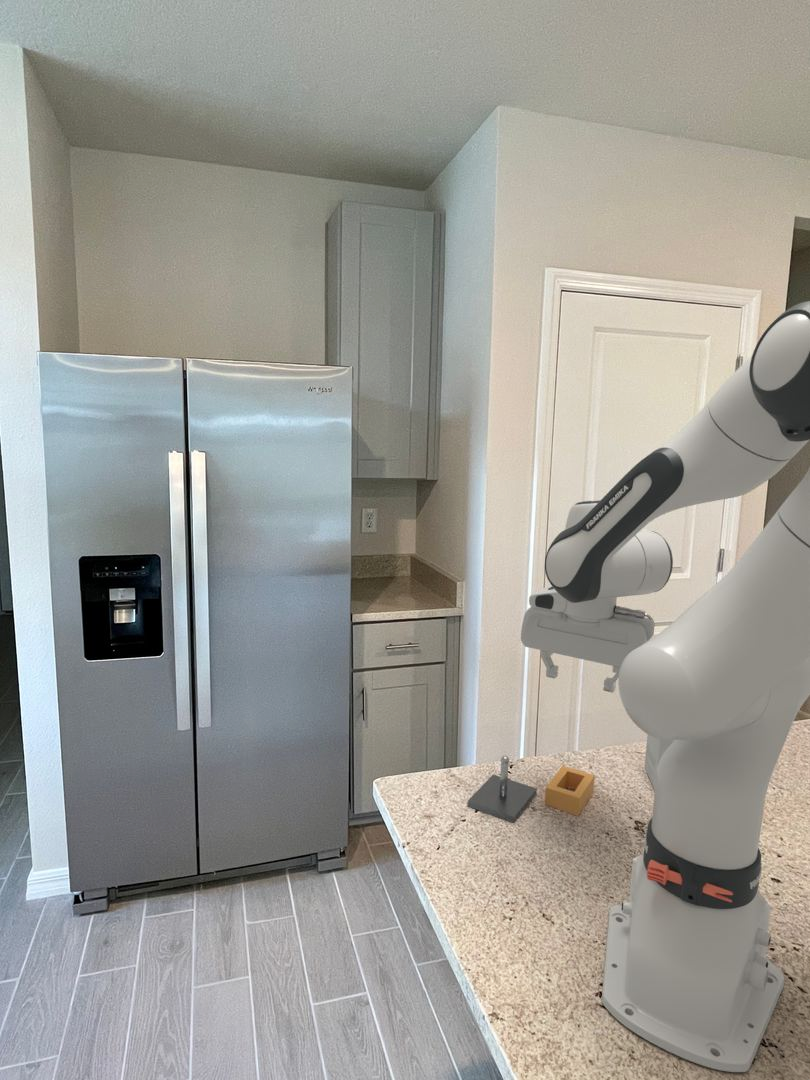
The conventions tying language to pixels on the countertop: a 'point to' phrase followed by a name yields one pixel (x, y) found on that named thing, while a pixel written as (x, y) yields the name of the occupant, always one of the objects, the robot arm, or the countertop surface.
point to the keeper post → (502, 795)
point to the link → (569, 799)
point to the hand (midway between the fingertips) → (579, 683)
